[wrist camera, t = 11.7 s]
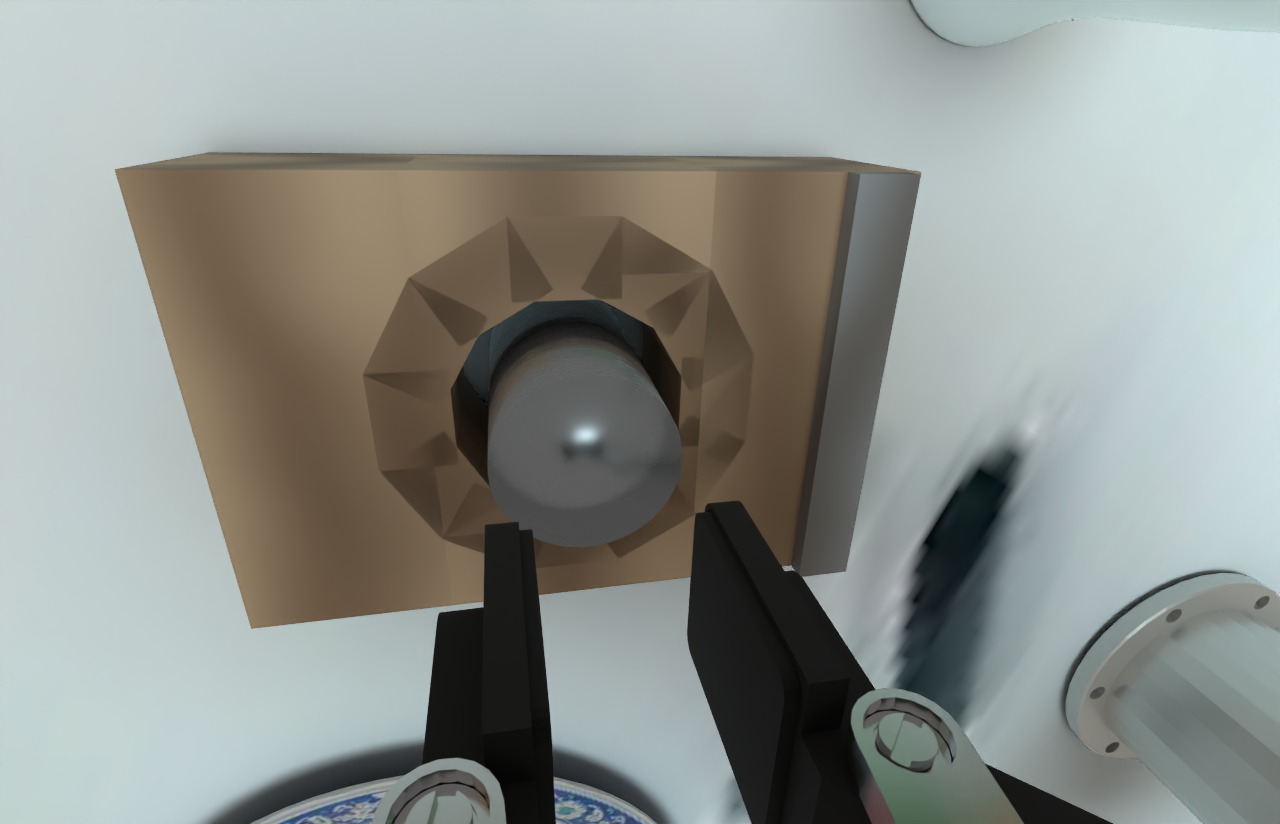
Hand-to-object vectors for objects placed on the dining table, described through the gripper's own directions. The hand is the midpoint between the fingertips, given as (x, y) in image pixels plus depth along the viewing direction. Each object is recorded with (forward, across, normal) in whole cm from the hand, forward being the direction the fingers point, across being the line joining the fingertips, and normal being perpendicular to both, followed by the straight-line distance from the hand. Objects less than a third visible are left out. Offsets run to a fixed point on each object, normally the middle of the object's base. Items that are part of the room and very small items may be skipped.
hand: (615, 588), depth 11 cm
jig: (+12, 0, 0) cm, 12 cm away
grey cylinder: (+12, 0, 0) cm, 12 cm away
